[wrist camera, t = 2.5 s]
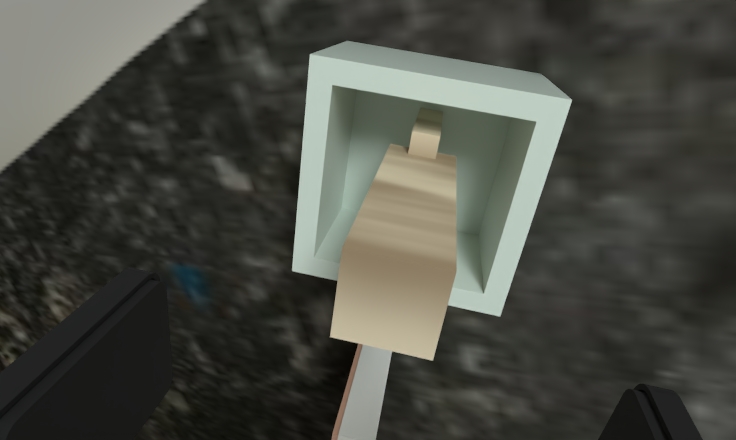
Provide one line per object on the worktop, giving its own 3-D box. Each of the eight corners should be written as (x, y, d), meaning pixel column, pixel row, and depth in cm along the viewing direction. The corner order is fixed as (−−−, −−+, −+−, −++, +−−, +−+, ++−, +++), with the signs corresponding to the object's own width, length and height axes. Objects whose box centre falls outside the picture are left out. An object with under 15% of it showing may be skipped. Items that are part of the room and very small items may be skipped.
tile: (379, 403, 35) (353, 541, 26) (352, 396, 35) (316, 532, 26) (398, 317, 31) (375, 443, 22) (367, 310, 31) (332, 433, 22)
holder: (490, 245, 28) (500, 316, 22) (327, 212, 29) (291, 270, 22) (541, 74, 23) (571, 99, 17) (347, 40, 24) (309, 54, 18)
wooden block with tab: (440, 202, 26) (425, 386, 14) (387, 192, 26) (326, 363, 14) (460, 114, 24) (465, 237, 11) (403, 104, 24) (346, 213, 12)
